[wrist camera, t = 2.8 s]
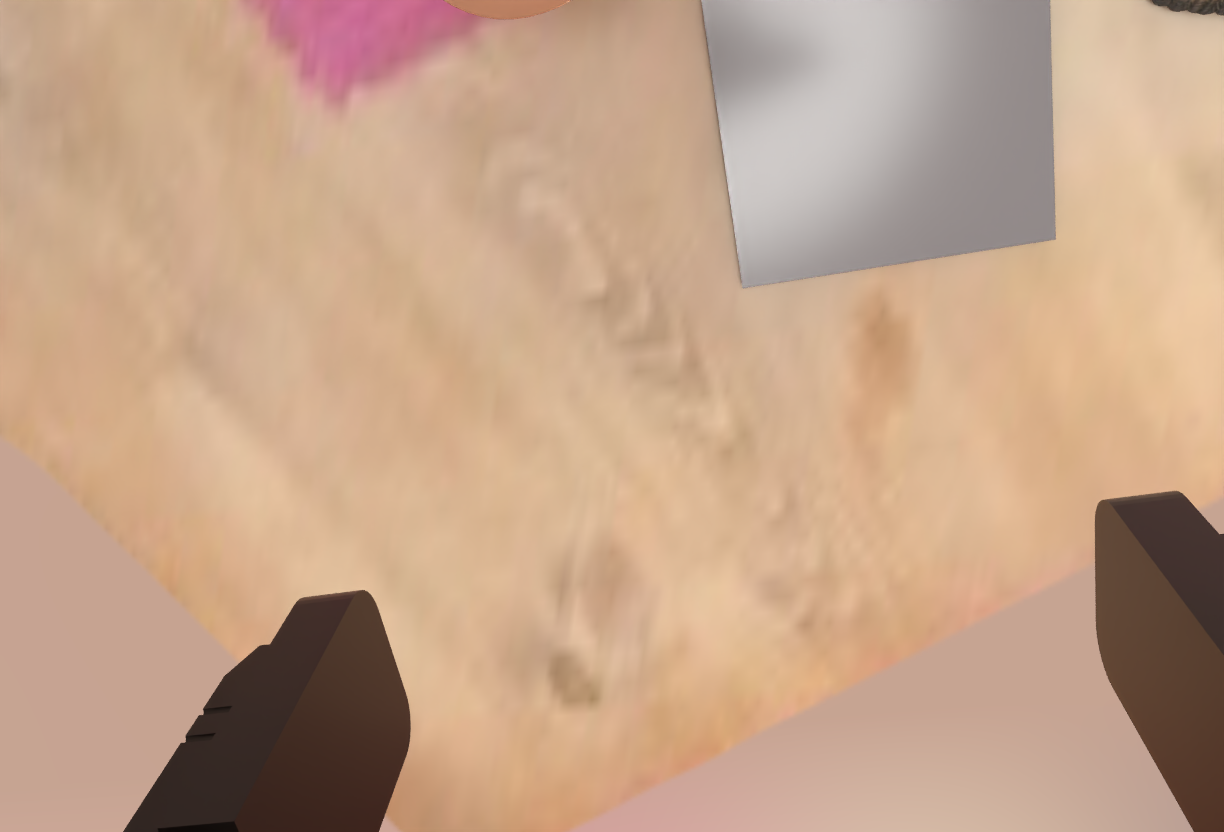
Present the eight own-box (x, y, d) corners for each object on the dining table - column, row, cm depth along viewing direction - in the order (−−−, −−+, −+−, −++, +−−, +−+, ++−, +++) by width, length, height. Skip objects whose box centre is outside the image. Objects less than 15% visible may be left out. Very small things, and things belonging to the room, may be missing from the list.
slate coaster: (741, 283, 39) (742, 288, 38) (696, -34, 35) (696, -34, 34) (1050, 235, 37) (1055, 239, 37) (1041, -104, 33) (1047, -105, 33)
